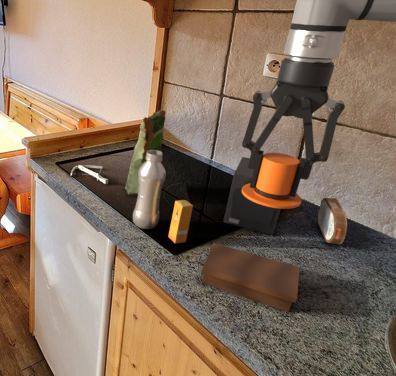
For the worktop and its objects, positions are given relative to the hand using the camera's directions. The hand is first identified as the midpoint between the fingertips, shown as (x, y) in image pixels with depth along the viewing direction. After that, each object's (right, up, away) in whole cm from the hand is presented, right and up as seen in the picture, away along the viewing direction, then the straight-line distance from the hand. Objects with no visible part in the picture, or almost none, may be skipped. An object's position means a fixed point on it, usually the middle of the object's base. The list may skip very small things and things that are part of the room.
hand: (272, 189), depth 74 cm
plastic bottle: (-17, -10, +29) cm, 36 cm away
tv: (+12, -8, +35) cm, 38 cm away
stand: (0, -19, +9) cm, 22 cm away
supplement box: (-11, -12, +24) cm, 29 cm away
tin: (+28, -12, +28) cm, 41 cm away
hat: (0, -1, +1) cm, 1 cm away
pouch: (-15, -2, +47) cm, 49 cm away
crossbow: (-29, +4, +58) cm, 65 cm away
